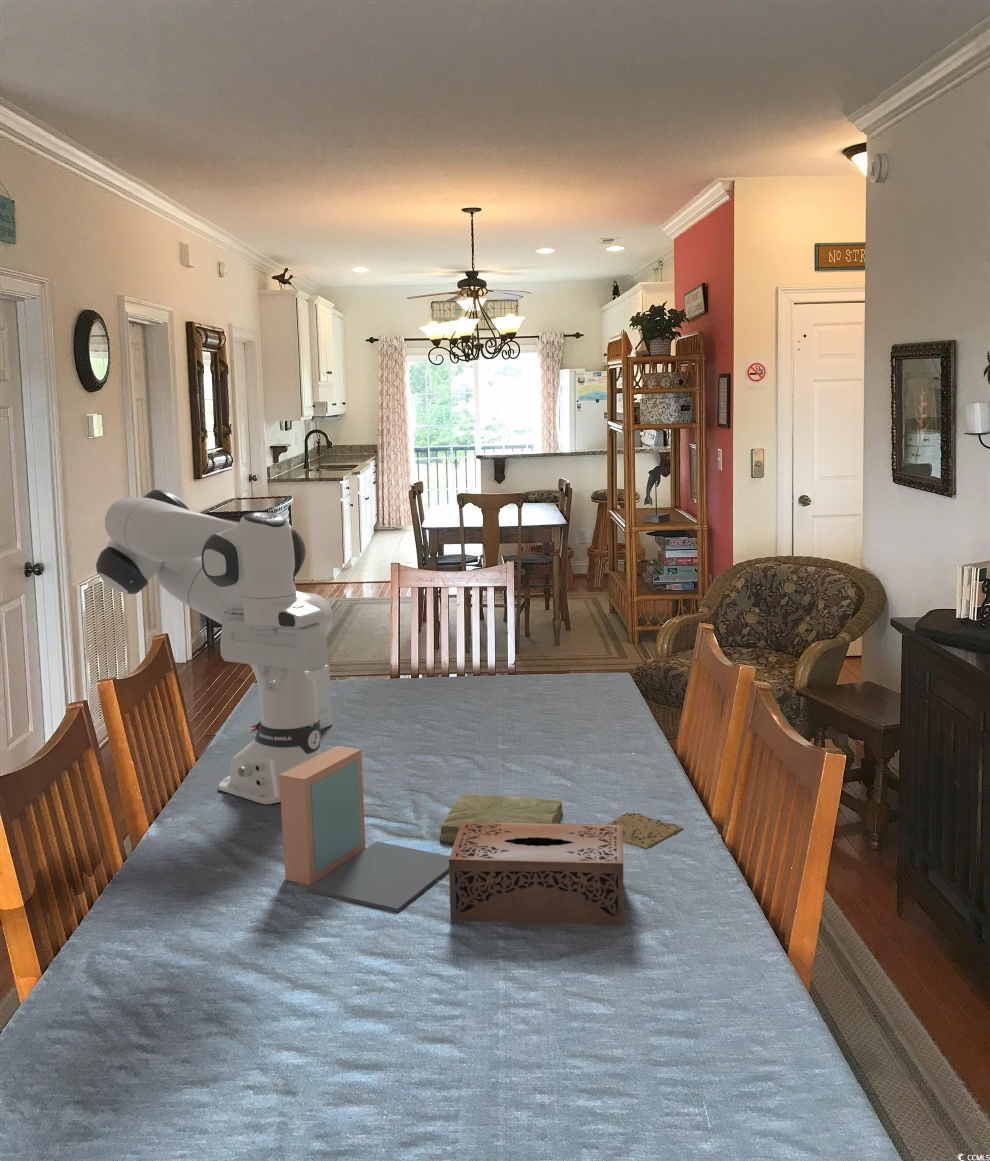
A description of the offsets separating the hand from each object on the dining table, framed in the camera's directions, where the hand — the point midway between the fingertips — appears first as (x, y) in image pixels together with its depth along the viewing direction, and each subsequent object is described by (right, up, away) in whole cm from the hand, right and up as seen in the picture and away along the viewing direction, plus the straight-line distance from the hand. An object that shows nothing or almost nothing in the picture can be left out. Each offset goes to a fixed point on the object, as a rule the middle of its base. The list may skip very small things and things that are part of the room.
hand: (274, 691), depth 183 cm
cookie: (+63, -27, +12) cm, 69 cm away
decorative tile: (+38, -27, +15) cm, 49 cm away
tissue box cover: (+44, -32, -14) cm, 56 cm away
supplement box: (-8, -17, +77) cm, 79 cm away
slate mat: (+19, -30, -5) cm, 36 cm away
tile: (+9, -29, +1) cm, 30 cm away
